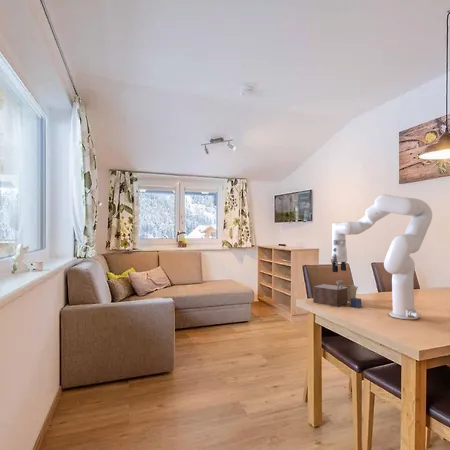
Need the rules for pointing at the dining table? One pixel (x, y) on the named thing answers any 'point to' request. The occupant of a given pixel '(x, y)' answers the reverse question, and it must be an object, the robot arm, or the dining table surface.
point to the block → (355, 302)
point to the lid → (332, 286)
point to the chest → (330, 297)
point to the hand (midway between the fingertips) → (339, 271)
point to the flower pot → (351, 291)
